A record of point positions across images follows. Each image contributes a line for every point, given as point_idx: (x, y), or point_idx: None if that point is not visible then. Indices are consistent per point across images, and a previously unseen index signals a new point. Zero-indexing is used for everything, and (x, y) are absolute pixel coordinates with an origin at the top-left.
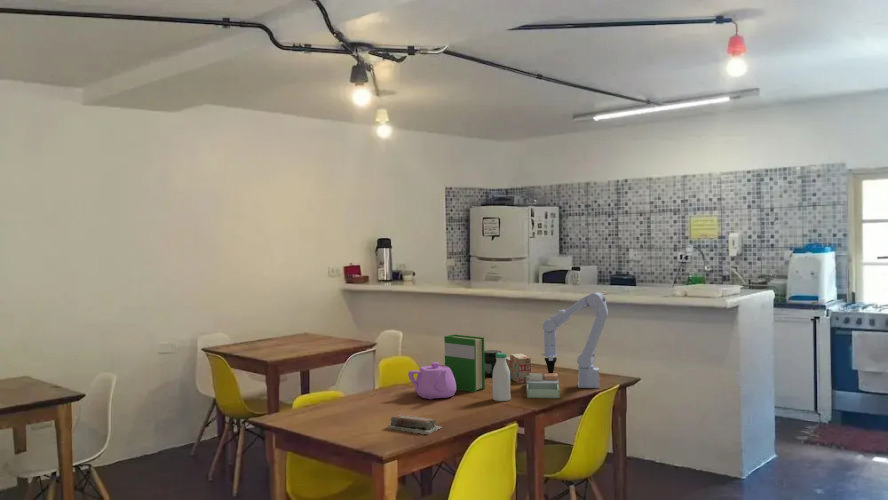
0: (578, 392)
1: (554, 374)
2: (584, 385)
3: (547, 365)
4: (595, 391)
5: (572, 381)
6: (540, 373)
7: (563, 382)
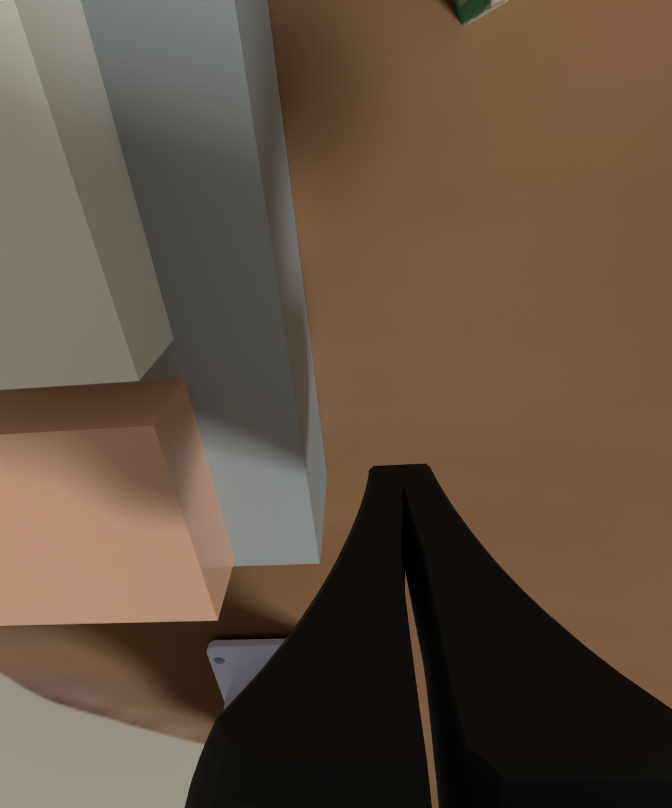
0: (30, 633)
1: (94, 585)
2: (227, 695)
3: (318, 600)
4: (127, 719)
5: (536, 600)
6: (81, 342)
7: (483, 526)
